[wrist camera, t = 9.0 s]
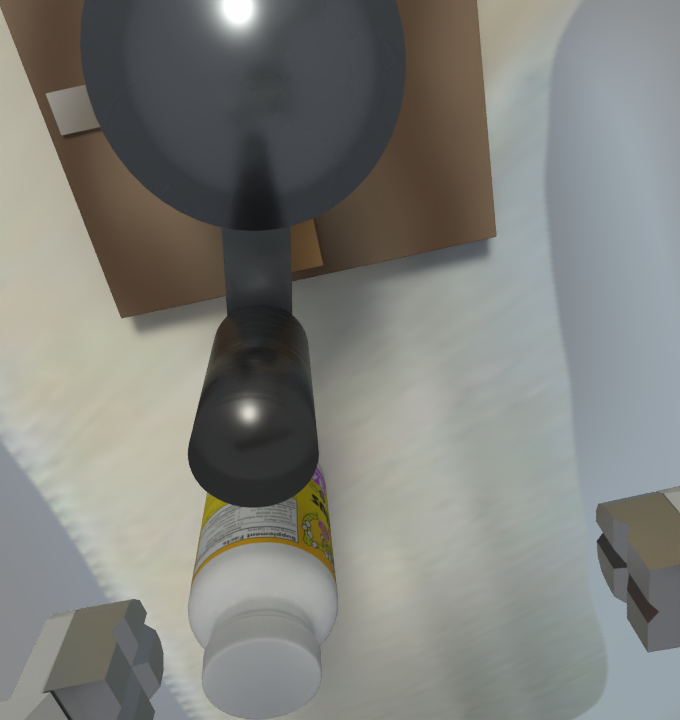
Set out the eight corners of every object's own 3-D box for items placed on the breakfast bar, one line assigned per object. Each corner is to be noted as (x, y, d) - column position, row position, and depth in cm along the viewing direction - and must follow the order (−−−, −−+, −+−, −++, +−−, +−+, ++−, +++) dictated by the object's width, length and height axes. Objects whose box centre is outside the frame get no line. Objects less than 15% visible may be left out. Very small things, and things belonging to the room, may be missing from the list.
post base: (442, -257, 22) (532, -434, 14) (486, 228, 30) (559, 287, 22) (-44, -148, 22) (-221, -264, 14) (128, 307, 30) (75, 392, 22)
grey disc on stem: (90, -102, 16) (-72, -243, 9) (394, -91, 17) (483, -210, 9) (151, 364, 22) (86, 515, 14) (374, 359, 22) (419, 500, 15)
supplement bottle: (320, 527, 37) (337, 736, 26) (209, 526, 36) (176, 740, 25) (329, 434, 34) (354, 621, 23) (209, 430, 34) (173, 622, 22)
